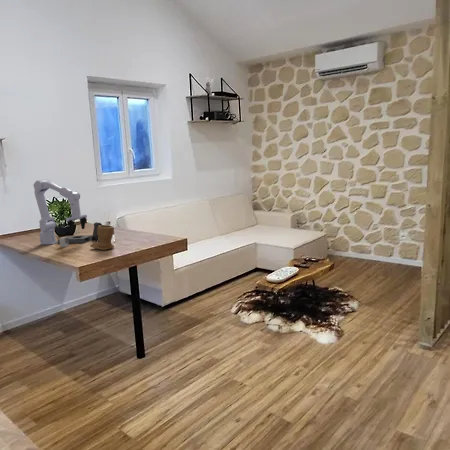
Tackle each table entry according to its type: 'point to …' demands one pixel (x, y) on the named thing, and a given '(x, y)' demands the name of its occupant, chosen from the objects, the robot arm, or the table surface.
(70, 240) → the square hole plate
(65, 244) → the steel peg
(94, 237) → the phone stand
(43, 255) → the table surface
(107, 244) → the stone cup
